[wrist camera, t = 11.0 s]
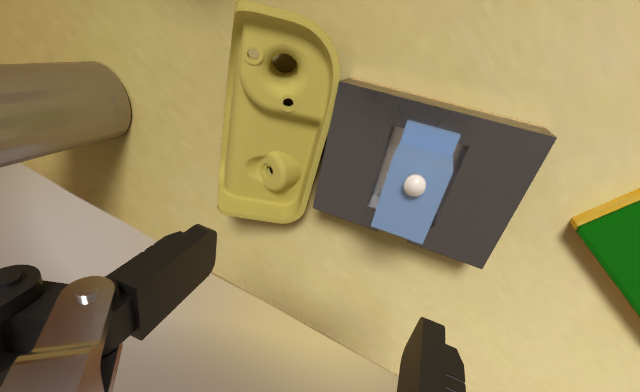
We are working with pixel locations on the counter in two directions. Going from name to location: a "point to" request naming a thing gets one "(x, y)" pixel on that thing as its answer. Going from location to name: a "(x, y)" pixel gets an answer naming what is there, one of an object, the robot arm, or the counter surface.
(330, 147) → the grey hollow block
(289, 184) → the plastic component
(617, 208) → the dish sponge
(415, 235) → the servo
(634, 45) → the counter surface
